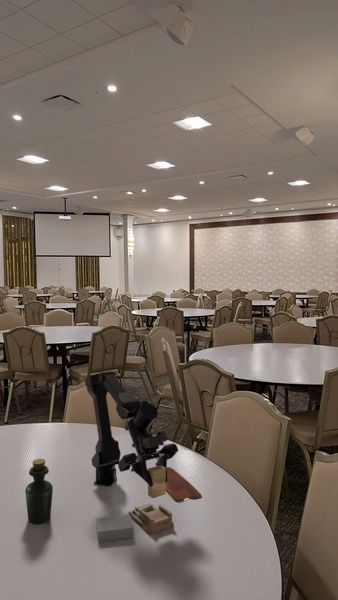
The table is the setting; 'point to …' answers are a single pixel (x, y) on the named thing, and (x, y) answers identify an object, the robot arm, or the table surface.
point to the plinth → (114, 528)
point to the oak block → (157, 481)
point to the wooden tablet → (180, 486)
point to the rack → (152, 517)
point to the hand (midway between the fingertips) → (159, 483)
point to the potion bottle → (39, 494)
